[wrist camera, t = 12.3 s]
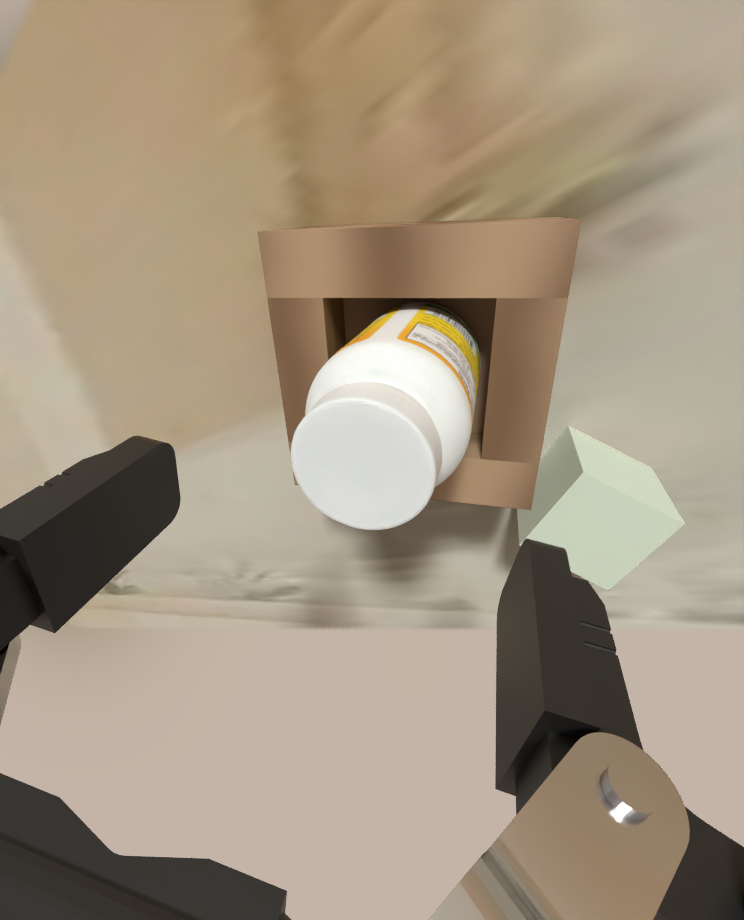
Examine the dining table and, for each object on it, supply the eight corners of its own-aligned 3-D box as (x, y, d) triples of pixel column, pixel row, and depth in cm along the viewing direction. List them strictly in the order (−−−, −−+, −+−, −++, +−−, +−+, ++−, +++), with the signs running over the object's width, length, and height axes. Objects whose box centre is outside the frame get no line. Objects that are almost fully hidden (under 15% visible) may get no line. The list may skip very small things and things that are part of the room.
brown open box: (557, 217, 19) (581, 219, 13) (523, 442, 24) (531, 510, 19) (318, 226, 21) (257, 231, 16) (336, 428, 27) (294, 484, 21)
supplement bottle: (484, 297, 18) (472, 372, 9) (477, 420, 20) (463, 561, 12) (355, 301, 19) (248, 369, 11) (364, 415, 21) (283, 540, 13)
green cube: (651, 467, 23) (684, 523, 19) (590, 529, 26) (608, 590, 22) (567, 424, 23) (583, 472, 19) (515, 491, 26) (519, 545, 22)
